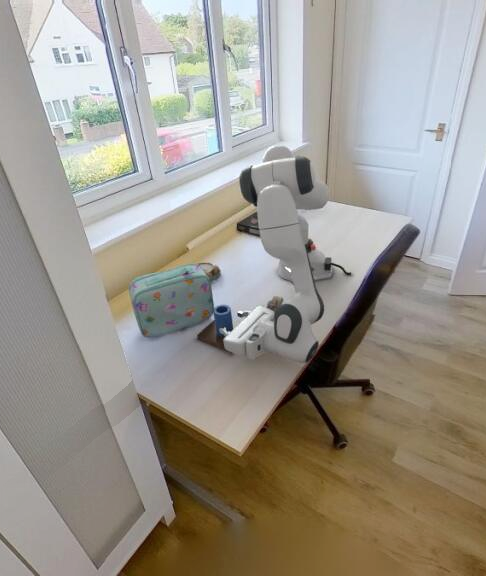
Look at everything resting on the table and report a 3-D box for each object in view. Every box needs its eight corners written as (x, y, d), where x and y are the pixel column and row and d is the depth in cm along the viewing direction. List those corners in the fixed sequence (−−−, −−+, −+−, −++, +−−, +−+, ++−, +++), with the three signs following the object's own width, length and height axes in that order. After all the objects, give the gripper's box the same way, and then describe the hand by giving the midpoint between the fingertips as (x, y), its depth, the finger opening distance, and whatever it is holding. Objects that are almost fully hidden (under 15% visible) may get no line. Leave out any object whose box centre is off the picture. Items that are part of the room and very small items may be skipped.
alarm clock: (198, 260, 168) (225, 263, 160) (201, 270, 170) (228, 273, 162) (180, 272, 160) (208, 276, 152) (184, 283, 162) (211, 287, 154)
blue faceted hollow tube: (236, 329, 130) (233, 307, 125) (226, 338, 126) (223, 316, 121) (223, 324, 133) (220, 302, 128) (213, 333, 129) (210, 311, 124)
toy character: (266, 317, 141) (262, 309, 136) (275, 299, 145) (271, 290, 140) (276, 320, 140) (273, 312, 135) (285, 302, 143) (281, 293, 138)
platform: (253, 332, 132) (251, 310, 127) (231, 354, 123) (228, 332, 118) (220, 319, 138) (217, 298, 133) (197, 339, 130) (193, 318, 125)
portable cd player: (236, 230, 197) (235, 223, 195) (256, 218, 209) (256, 211, 207) (263, 238, 189) (262, 230, 187) (282, 225, 201) (282, 218, 199)
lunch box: (210, 304, 146) (202, 253, 134) (220, 319, 138) (212, 266, 126) (137, 327, 136) (122, 274, 124) (144, 344, 129) (128, 290, 117)
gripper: (283, 308, 125) (247, 296, 131) (246, 346, 110) (208, 331, 117) (283, 323, 128) (249, 311, 134) (248, 363, 114) (211, 347, 120)
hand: (229, 320), depth 125 cm, fingers open, 8 cm apart
